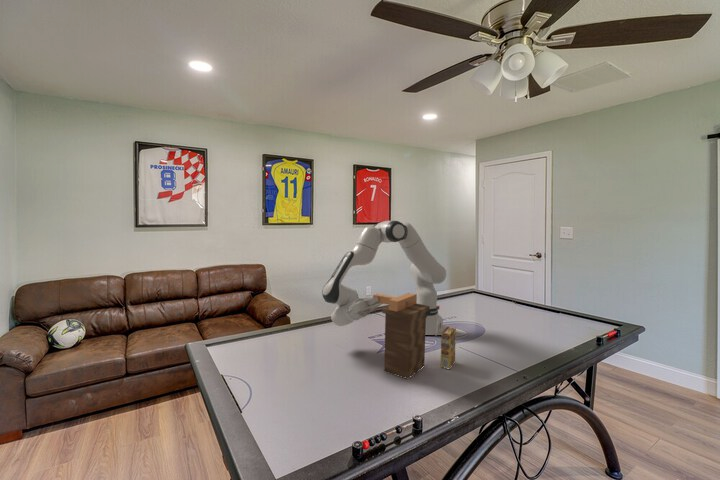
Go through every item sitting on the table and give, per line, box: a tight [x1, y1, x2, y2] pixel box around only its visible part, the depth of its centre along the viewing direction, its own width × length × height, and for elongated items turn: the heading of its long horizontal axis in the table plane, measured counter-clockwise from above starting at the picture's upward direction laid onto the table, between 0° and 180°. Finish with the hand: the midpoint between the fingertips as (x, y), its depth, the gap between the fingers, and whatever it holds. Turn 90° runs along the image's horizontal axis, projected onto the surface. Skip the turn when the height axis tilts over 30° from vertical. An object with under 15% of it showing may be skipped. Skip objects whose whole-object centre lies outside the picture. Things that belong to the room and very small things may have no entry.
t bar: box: [372, 292, 417, 312], centre depth 141 cm, size 16×16×4 cm
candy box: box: [440, 326, 457, 369], centre depth 143 cm, size 9×4×15 cm, turn 150°
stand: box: [381, 304, 429, 379], centre depth 138 cm, size 16×13×26 cm
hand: (381, 297), depth 144 cm, fingers closed on t bar, 3 cm apart
